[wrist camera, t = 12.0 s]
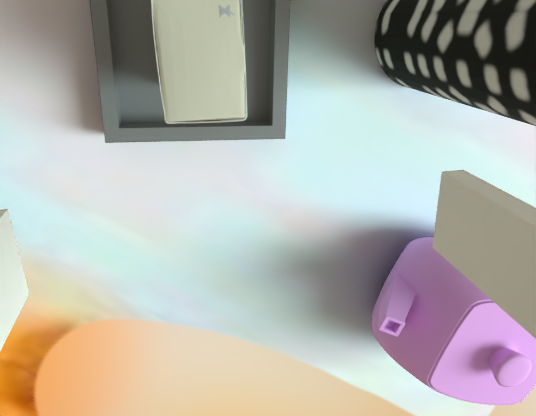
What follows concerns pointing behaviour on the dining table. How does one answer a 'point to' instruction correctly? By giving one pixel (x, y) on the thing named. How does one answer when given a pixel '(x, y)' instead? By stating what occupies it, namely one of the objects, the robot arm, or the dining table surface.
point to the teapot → (452, 331)
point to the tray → (147, 83)
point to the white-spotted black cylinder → (463, 51)
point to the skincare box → (200, 60)
